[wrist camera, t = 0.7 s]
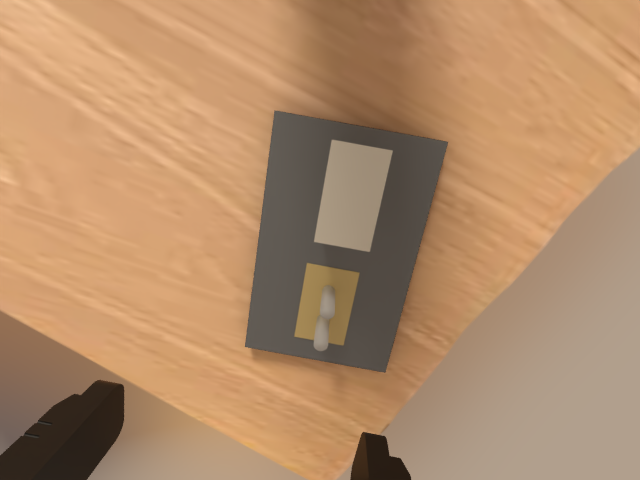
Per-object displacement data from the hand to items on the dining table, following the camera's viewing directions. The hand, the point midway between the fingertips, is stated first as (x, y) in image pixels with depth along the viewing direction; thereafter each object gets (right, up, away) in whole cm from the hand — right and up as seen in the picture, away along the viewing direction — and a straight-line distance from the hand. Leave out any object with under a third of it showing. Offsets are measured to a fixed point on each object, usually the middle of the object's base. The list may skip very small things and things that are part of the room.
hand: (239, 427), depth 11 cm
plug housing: (+5, +11, +16) cm, 20 cm away
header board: (+4, +5, +20) cm, 21 cm away
